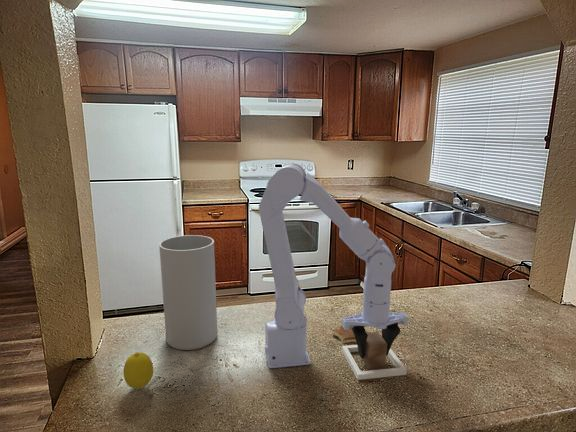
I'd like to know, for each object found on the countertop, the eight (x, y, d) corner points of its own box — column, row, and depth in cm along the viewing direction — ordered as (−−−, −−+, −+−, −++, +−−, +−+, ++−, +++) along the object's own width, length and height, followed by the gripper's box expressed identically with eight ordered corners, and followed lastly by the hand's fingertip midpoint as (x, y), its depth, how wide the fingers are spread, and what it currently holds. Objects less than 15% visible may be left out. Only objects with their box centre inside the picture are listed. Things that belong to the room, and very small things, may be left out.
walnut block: (368, 369, 84) (369, 345, 82) (360, 356, 89) (361, 333, 87) (385, 368, 84) (387, 343, 83) (376, 355, 89) (378, 331, 88)
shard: (382, 343, 95) (382, 336, 95) (365, 356, 90) (366, 349, 89) (346, 327, 102) (346, 321, 102) (328, 339, 97) (328, 332, 97)
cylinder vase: (227, 331, 99) (224, 238, 94) (196, 356, 88) (191, 253, 82) (188, 321, 104) (183, 232, 99) (155, 344, 93) (147, 246, 88)
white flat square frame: (357, 379, 80) (357, 374, 80) (341, 350, 91) (342, 346, 91) (406, 374, 82) (406, 369, 82) (385, 346, 93) (385, 342, 92)
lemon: (145, 376, 81) (142, 342, 79) (159, 387, 78) (157, 351, 76) (120, 389, 77) (116, 353, 75) (134, 401, 74) (130, 364, 72)
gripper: (350, 309, 78) (347, 368, 81) (416, 304, 80) (411, 361, 83) (340, 294, 85) (338, 349, 88) (401, 290, 87) (397, 344, 90)
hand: (373, 354), depth 86 cm, fingers open, 5 cm apart
